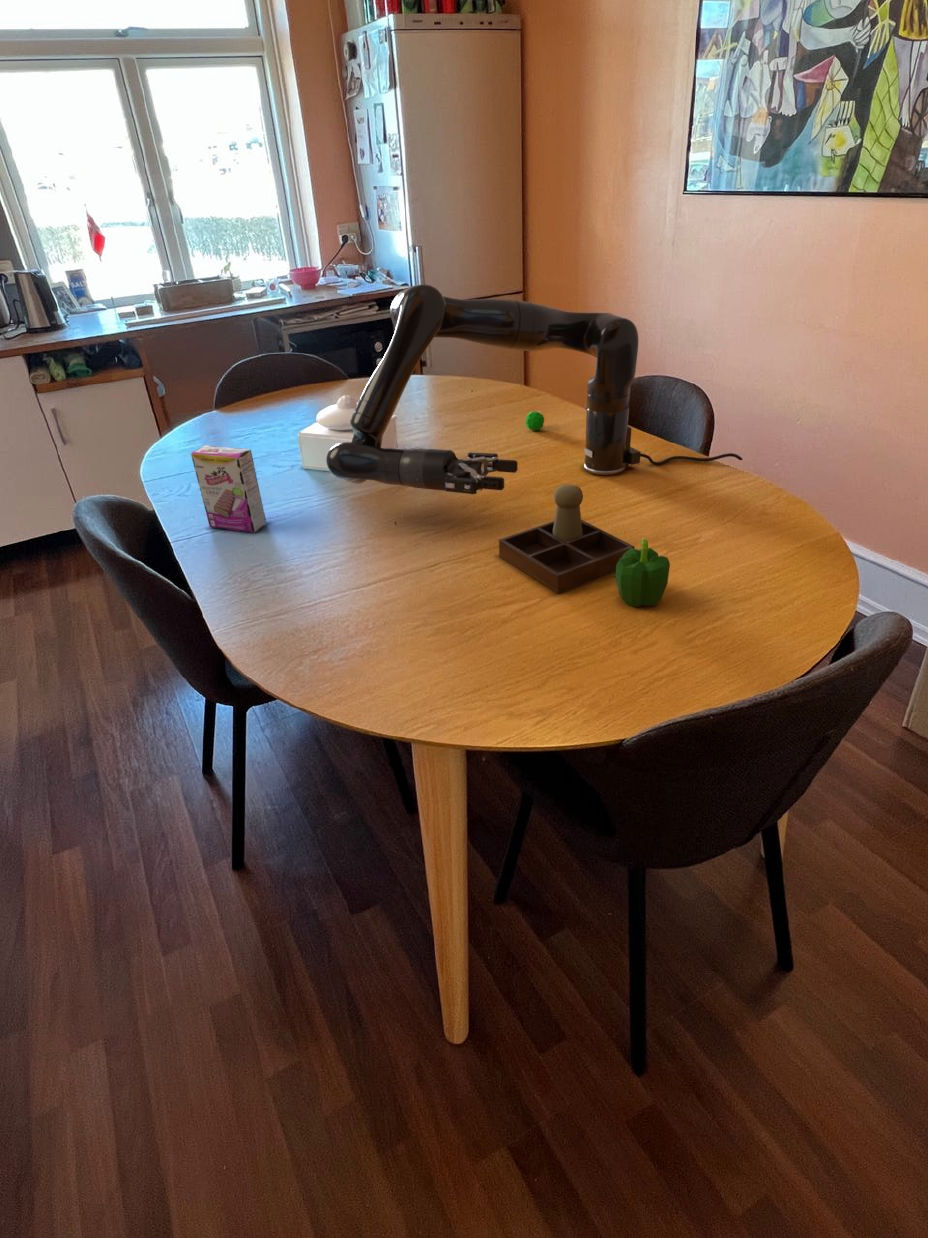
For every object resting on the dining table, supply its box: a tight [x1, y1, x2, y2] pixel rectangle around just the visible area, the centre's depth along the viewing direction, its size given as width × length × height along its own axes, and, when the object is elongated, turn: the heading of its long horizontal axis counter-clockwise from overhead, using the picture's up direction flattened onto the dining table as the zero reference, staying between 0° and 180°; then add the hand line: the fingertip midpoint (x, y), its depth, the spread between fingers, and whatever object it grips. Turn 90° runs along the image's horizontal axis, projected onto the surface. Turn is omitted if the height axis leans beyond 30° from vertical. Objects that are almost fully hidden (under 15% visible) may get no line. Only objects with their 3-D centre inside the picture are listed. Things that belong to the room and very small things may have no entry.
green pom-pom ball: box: [524, 410, 545, 432], centre depth 196 cm, size 5×5×5 cm
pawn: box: [552, 484, 584, 542], centre depth 136 cm, size 6×6×11 cm
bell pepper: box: [615, 538, 671, 608], centre depth 119 cm, size 8×8×10 cm
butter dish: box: [296, 394, 399, 472], centre depth 181 cm, size 18×18×16 cm
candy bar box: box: [190, 445, 267, 534], centre depth 150 cm, size 11×5×16 cm, turn 71°
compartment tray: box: [498, 519, 635, 595], centre depth 133 cm, size 17×17×4 cm
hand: (510, 475), depth 136 cm, fingers open, 8 cm apart
